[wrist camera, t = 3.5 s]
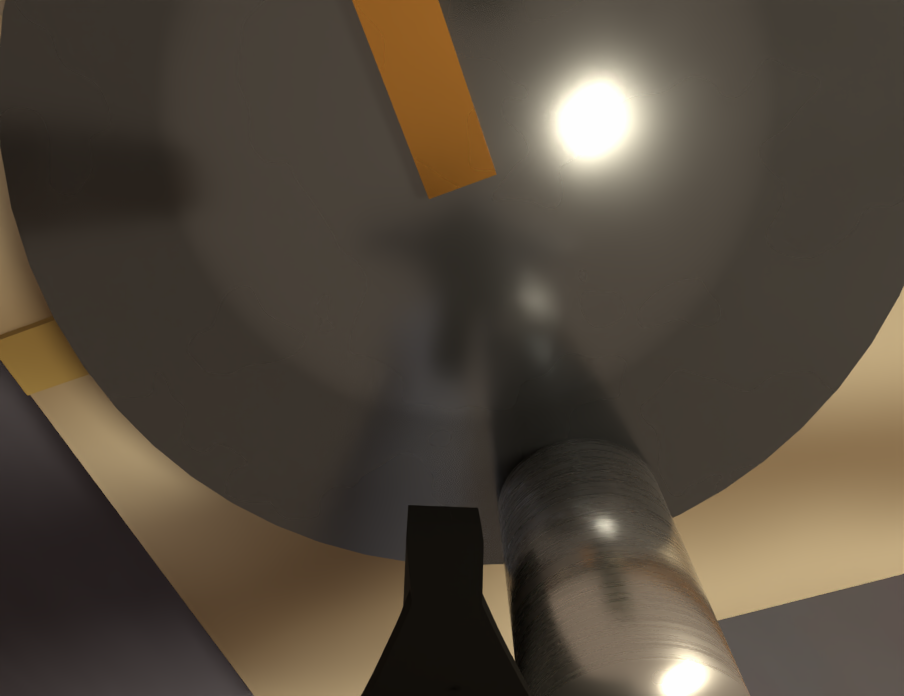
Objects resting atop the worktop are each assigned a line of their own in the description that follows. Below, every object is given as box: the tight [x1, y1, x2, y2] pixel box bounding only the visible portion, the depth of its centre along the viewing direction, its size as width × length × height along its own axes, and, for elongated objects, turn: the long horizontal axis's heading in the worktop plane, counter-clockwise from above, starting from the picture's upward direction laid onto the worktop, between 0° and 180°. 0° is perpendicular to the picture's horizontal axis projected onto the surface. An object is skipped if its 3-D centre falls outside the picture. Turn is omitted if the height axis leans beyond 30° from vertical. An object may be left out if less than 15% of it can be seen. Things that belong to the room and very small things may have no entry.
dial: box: [0, 0, 904, 696], centre depth 8 cm, size 12×12×5 cm
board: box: [0, 0, 904, 696], centre depth 11 cm, size 20×16×2 cm
